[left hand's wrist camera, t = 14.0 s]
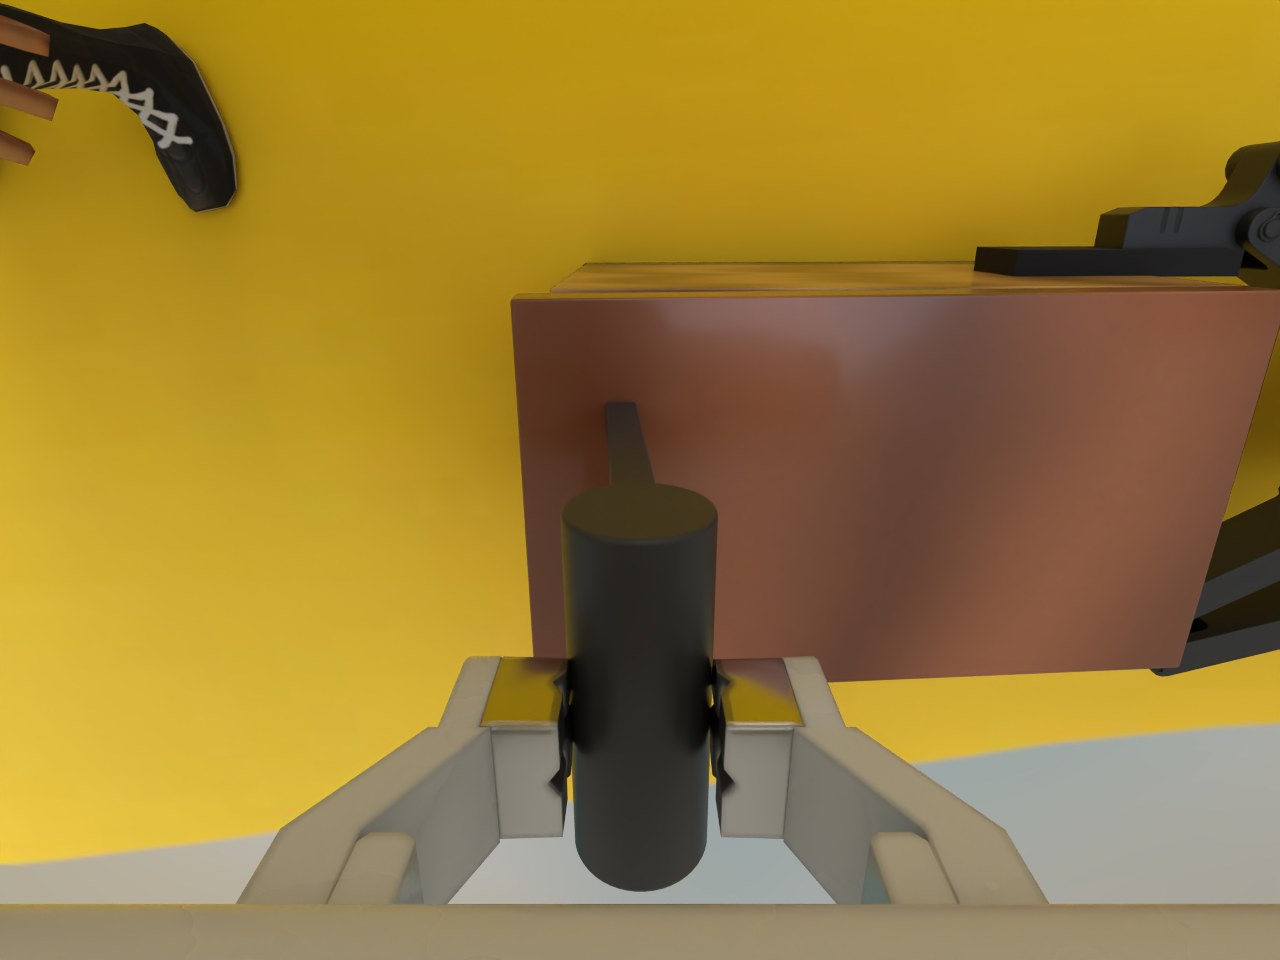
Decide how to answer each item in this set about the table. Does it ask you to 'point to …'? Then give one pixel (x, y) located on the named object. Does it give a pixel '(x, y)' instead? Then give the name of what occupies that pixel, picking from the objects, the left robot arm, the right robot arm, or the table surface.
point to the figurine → (121, 94)
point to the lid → (858, 502)
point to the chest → (826, 277)
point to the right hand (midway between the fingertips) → (967, 432)
